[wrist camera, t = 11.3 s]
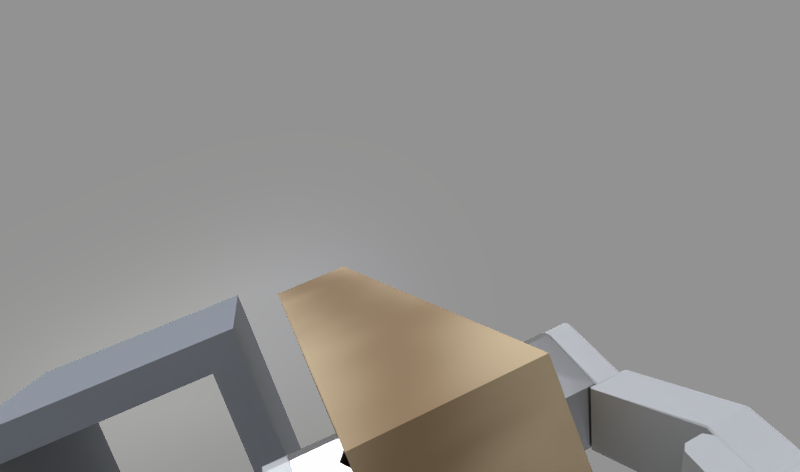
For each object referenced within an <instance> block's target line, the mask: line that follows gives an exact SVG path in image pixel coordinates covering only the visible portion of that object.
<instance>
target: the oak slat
mask: <svg viewBox="0 0 800 472" xmlns="http://www.w3.org/2000/svg"><path fill="white" fill-rule="evenodd" d="M278 295H279V297H280V300H281V302H282V305H283V307H284V309H285V312H286V314H287V317H288V319H289V322H290V324H291V326H292V329H293V331H294V334H295V336H296V338H297V341H298V343H299V346H300V348H301V350H302V353H303V355H304V358H305V360H306V363H307V365H308V367H309V370H310V372H311V375H312V377H313V379H314V381H315V384H316V387H317V389H318V391H319V394H320V396H321V398H322V401H323V403H324V406H325V408H326V411H327V413H328V415H329V418H330V420H331V422H332V425H333V427H334V430H335V432H336V433H337V435H338V438H339V440H340V442H341V445H342V447H343V450H344V452H345V454H346V457H347V459H348V462H349V464H350V467H351V469H352V471H353V472H592V469H591V466H590V464H589V461H588V458H587V456H586V453H585V450H584V447H583V445H582V442H581V439H580V436H579V434H578V431H577V428H576V425H575V423H574V420H573V417H572V415H571V412H570V409H569V406H568V404H567V401H566V398H565V396H564V393H563V390H562V387H561V385H560V382H559V379H558V377H557V374H556V371H555V368H554V366H553V363H552V360H551V358H550V355H549V353H548V352H545V351H543V350H540V349H538V348H536V347H533V346H531V345H529V344H526V343H524V342H521V341H519V340H517V339H514V338H512V337H510V336H507V335H505V334H502V333H500V332H497V331H495V330H493V329H490V328H488V327H486V326H483V325H481V324H478V323H476V322H474V321H471V320H469V319H467V318H464V317H462V316H460V315H457V314H455V313H453V312H450V311H448V310H445V309H443V308H440V307H438V306H436V305H433V304H431V303H429V302H426V301H424V300H422V299H419V298H417V297H414V296H412V295H410V294H407V293H405V292H403V291H400V290H398V289H395V288H393V287H390V286H388V285H386V284H384V283H381V282H379V281H376V280H374V279H372V278H369V277H367V276H365V275H362V274H360V273H357V272H355V271H353V270H350V269H348V268H346V267H342V268H339V269H337V270H334V271H332V272H330V273H327V274H325V275H322V276H320V277H318V278H315V279H313V280H310V281H308V282H306V283H303V284H301V285H298V286H296V287H294V288H291V289H289V290H286V291H284V292H281V293H279V294H278Z"/></svg>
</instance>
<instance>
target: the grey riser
mask: <svg viewBox="0 0 800 472" xmlns="http://www.w3.org/2000/svg"><path fill="white" fill-rule="evenodd" d="M210 374H213V375H214V377H215V379H216V382H217V384H218V387H219V389H220V391H221V394H222V396H223V398H224V401H225V403H226V405H227V408H228V410H229V413H230V415H231V417H232V420H233V422H234V424H235V427H236V429H237V431H238V434H239V436H240V439H241V441H242V443H243V446H244V448H245V451H246V453H247V455H248V457H249V460H250V462H251V465H252V467H253V469H254V472H262V467H263V466H265V465H267V464H269V463H271V462H274V461H276V460H278V459H280V458H282V457H284V456H287V455H288V454H291V453H293V452H295V451H297V450H300V449H301V448H300V445H299V443H298V441H297V438H296V436H295V433H294V431H293V429H292V426H291V424H290V421H289V419H288V416H287V414H286V411H285V409H284V407H283V404H282V402H281V400H280V397H279V395H278V392H277V390H276V387H275V385H274V382H273V380H272V377H271V375H270V373H269V370H268V368H267V366H266V363H265V360H264V358H263V356H262V353H261V351H260V349H259V346H258V343H257V341H256V339H255V336H254V334H253V331H252V329H251V326H250V324H249V322H248V319H247V317H246V314H245V312H244V309H243V307H242V305H241V302H240V300H239V298H238V296H235V297H232V298H230V299H227V300H225V301H223V302H220V303H218V304H215V305H213V306H210V307H208V308H205V309H203V310H200V311H198V312H195V313H193V314H190V315H188V316H185V317H183V318H180V319H178V320H175V321H173V322H170V323H168V324H165V325H163V326H160V327H158V328H156V329H153V330H150V331H148V332H145V333H143V334H141V335H138V336H136V337H133V338H131V339H128V340H126V341H123V342H121V343H118V344H116V345H113V346H111V347H108V348H106V349H103V350H101V351H98V352H96V353H93V354H91V355H88V356H86V357H84V358H81V359H79V360H76V361H73V362H71V363H69V364H66V365H64V366H61V367H59V368H56V369H54V370H51V371H49V372H46V373H45V374H43V375H42V376H41V377H39V378H38V379H37V380H35V381H34V382H32V383H31V384H30V385H28V386H27V387H25V388H24V389H23V390H21V391H20V392H19V393H17V394H16V395H15V396H13V397H12V398H11V399H9V400H8V401H6V402H5V403H4V404H2V405H1V406H0V472H120V470H119V468H118V466H117V464H116V461H115V459H114V457H113V455H112V452H111V450H110V448H109V446H108V443H107V441H106V439H105V437H104V435H103V432H102V430H101V428H100V426H99V423H98V422H100V421H103V420H105V419H107V418H110V417H112V416H114V415H117V414H119V413H121V412H124V411H126V410H128V409H131V408H133V407H135V406H138V405H140V404H143V403H145V402H147V401H150V400H152V399H154V398H157V397H159V396H161V395H164V394H166V393H168V392H171V391H173V390H175V389H178V388H180V387H182V386H185V385H187V384H189V383H192V382H194V381H196V380H199V379H201V378H203V377H206V376H208V375H210Z"/></svg>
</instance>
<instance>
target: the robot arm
mask: <svg viewBox="0 0 800 472" xmlns="http://www.w3.org/2000/svg"><path fill="white" fill-rule="evenodd" d="M524 343H526V344H529V345H531V346H533V347H536V348H538V349H540V350H543V351H545V352H548V353H549V355H550V358H551V360H552V363H553V366H554V368H555V371H556V374H557V377H558V379H559V382H560V385H561V387H562V390H563V393H564V396H565V398H566V401H567V404H568V406H569V409H570V412H571V415H572V417H573V420H574V423H575V425H576V428H577V431H578V434H579V436H580V439H581V442H582V445H583V447H584V450H587V449H589V448H591V447H592V450H594V451H596V452H598V453H601V454H602V455H604V456H606V457H609V458H611V459H613V460H615V461H617V462H619V463H621V464H623V465H625V466H627V467H629V468H631V469H633V470H636V471H637V472H800V450H799V449H798V448H797V447H796V446H795V445H793V444H792V443H791V442H790V441H789V440H788V439H786V438H785V437H784V436H783V435H781V434H780V433H779V432H778V431H777V430H775V429H774V428H773V427H772V426H771V425H769V424H768V423H767V422H766V421H765V420H764V419H762V418H761V417H760V416H759V415H757V414H756V413H755V412H754V411H753V410H752V409H750V408H749V407H748V406H744V405H741V404H738V403H735V402H732V401H728V400H725V399H721V398H718V397H715V396H712V395H708V394H705V393H702V392H698V391H695V390H692V389H688V388H685V387H682V386H679V385H675V384H672V383H669V382H665V381H662V380H658V379H655V378H652V377H649V376H645V375H642V374H638V373H635V372H632V371H628V370H624V371H622V372H619V371H617V370H616V369H615V368H614V367H613V366H612V365H611V364H610V363H609V362H608V361H607V360H606V359H605V358H604V357H603V356H602V355H601V354H600V353H599V352H598V351H597V350H596V349H595V348H594V347H593V346H592V345H590V344H589V343H588V342H587V341H586V340H585V339H584V338H583V337H582V336H581V335H580V334H579V333H578V332H577V331H576V330H575V329H574V328H573V327H572V326H571V325H569V324H567V323H564V324H561V325H559V326H557V327H555V328H553V329H551V330H549V331H547V332H545V333H543V334H539V335H537V336H535V337H533V338H531V339H529V340H527V341H525V342H524ZM262 472H353V471H352V469H351V467H350V464H349V462H348V459H347V457H346V454H345V452H344V450H343V447H342V445H341V442H340V440H339V438H338V435H337V433H336V434H333V435H331V436H329V437H326V438H324V439H322V440H320V441H318V442H315V443H313V444H311V445H309V446H306V447H304V448H302V449H300V450H297V451H295V452H293V453H291V454H288V455H287V456H284V457H282V458H280V459H278V460H276V461H274V462H271V463H269V464H267V465H265V466H263V467H262Z"/></svg>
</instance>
